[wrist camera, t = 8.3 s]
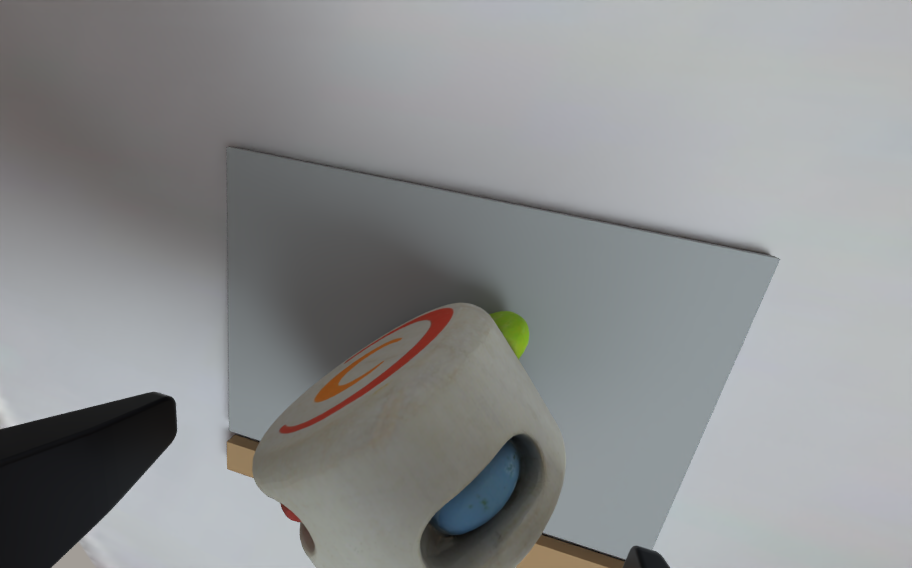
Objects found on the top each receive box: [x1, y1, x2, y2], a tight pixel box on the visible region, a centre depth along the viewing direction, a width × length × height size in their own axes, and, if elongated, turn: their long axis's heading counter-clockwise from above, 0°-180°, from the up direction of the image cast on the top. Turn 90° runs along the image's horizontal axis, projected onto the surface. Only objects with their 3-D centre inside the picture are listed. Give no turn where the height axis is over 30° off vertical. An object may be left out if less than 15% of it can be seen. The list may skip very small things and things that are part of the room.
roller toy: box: [252, 303, 566, 568], centre depth 9 cm, size 4×6×6 cm
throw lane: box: [227, 147, 780, 568], centre depth 12 cm, size 11×14×1 cm
